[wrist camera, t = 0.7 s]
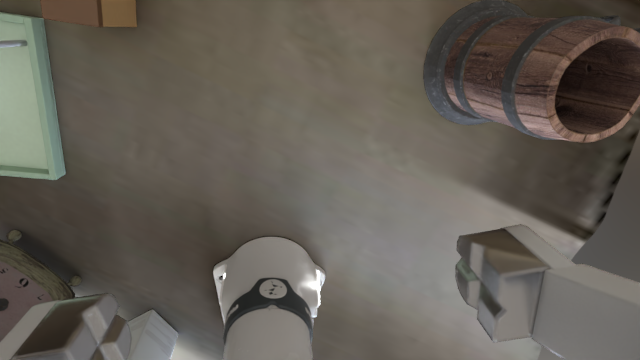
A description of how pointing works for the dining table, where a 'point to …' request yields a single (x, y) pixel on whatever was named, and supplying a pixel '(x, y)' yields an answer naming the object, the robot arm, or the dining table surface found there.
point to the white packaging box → (151, 337)
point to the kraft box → (91, 12)
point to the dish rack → (27, 102)
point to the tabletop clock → (26, 283)
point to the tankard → (535, 72)
